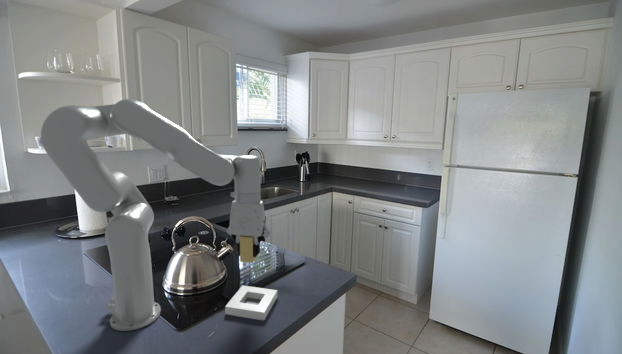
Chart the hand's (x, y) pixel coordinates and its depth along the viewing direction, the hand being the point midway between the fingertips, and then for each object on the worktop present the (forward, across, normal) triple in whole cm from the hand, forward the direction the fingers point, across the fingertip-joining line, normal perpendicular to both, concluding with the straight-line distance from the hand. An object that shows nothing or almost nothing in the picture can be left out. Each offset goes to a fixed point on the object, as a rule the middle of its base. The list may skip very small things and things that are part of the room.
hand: (248, 254), depth 94 cm
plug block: (+2, 0, 0) cm, 2 cm away
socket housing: (+15, +2, -3) cm, 16 cm away
